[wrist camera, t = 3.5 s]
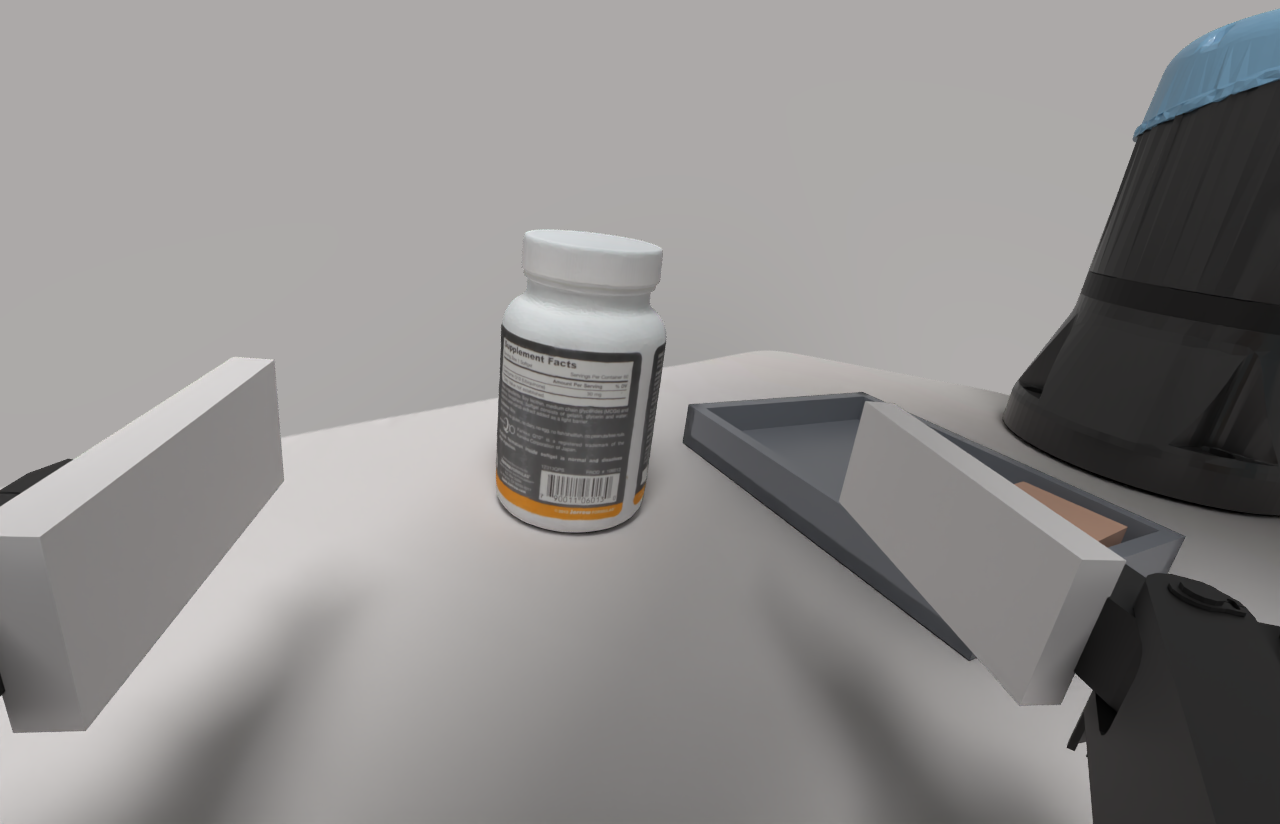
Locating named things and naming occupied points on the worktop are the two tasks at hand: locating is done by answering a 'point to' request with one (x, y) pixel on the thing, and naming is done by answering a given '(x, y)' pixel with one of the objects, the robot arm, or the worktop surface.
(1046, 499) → the tile
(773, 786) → the worktop surface
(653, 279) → the pill bottle
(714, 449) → the tray
